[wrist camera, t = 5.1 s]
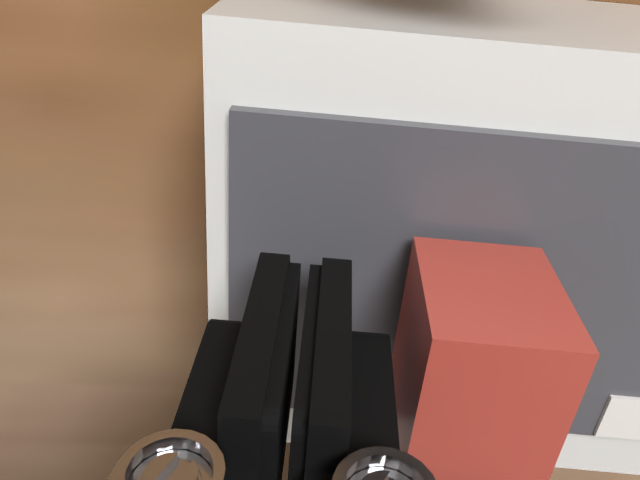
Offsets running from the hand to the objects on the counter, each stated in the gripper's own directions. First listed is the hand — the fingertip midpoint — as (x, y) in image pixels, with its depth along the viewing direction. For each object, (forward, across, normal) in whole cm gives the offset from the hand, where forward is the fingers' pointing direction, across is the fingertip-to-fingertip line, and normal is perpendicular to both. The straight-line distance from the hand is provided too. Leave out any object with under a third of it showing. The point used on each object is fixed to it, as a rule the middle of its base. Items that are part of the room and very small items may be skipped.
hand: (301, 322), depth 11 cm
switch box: (+8, -4, 0) cm, 9 cm away
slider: (+1, -3, 0) cm, 3 cm away
